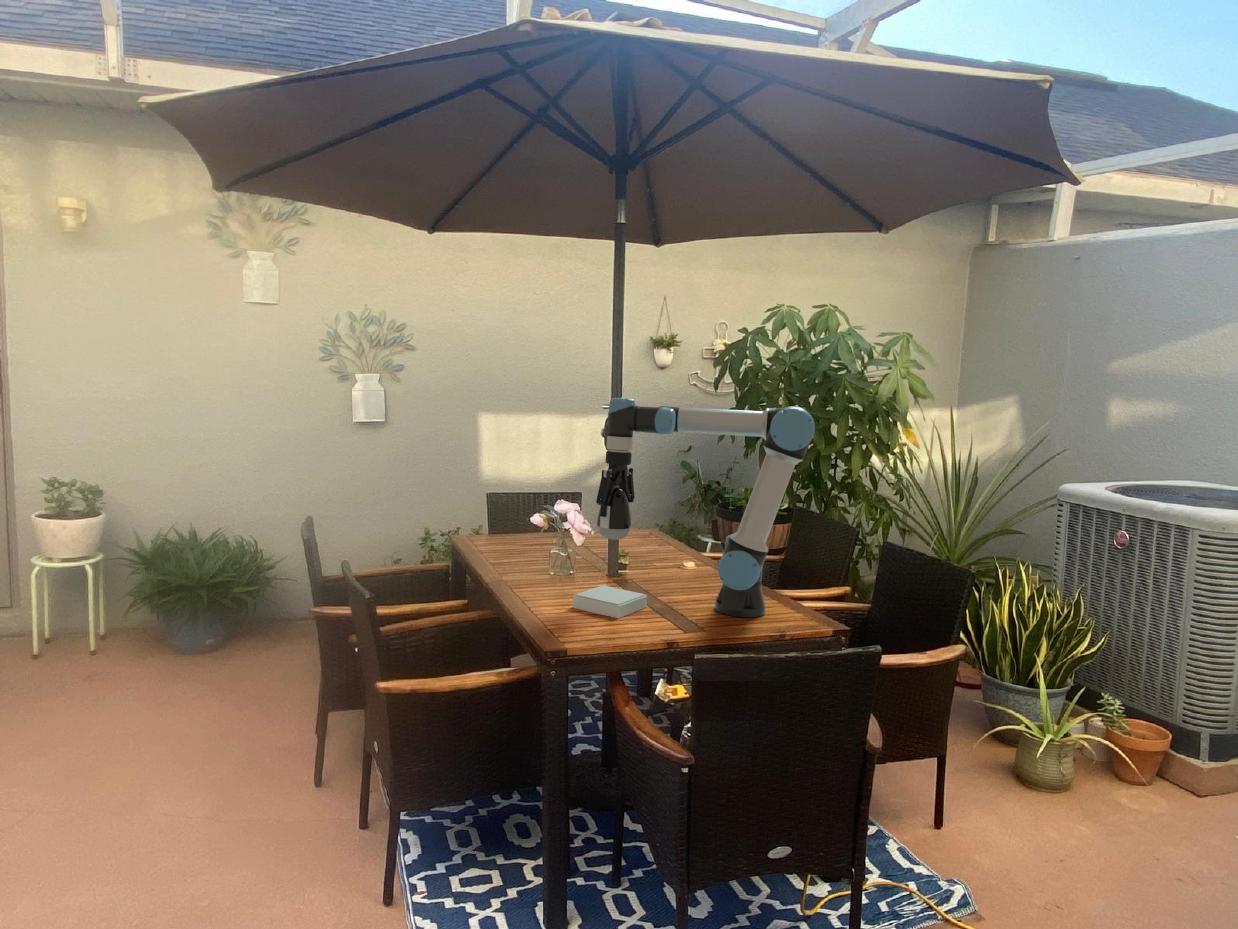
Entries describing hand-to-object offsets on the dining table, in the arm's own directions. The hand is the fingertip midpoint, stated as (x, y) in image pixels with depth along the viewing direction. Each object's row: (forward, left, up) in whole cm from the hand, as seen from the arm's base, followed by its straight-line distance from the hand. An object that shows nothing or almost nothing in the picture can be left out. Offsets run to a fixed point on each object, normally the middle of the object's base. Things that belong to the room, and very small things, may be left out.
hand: (614, 525), depth 246 cm
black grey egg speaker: (0, 0, -4) cm, 4 cm away
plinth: (0, 0, -25) cm, 25 cm away
